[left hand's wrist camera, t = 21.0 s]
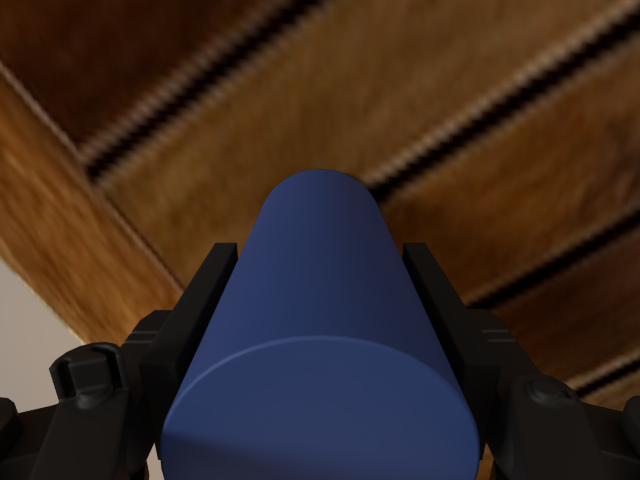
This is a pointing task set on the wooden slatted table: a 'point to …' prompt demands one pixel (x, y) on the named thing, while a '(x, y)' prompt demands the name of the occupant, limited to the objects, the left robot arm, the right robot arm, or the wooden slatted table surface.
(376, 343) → the cylinder
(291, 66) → the wooden slatted table surface
